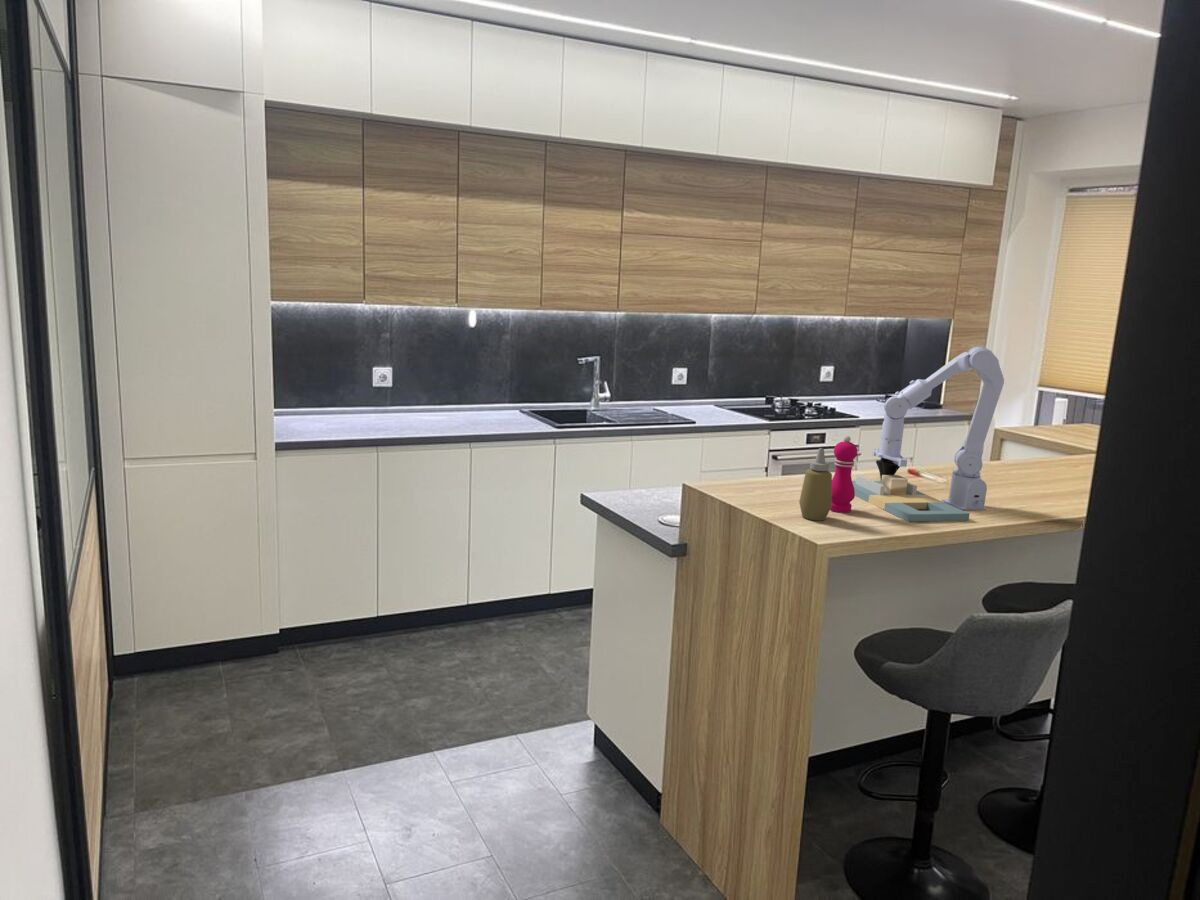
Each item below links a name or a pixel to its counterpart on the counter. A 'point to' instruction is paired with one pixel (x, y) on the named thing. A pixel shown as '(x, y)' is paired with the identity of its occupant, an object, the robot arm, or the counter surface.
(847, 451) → the pepper mill
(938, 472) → the counter surface
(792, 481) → the counter surface
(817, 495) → the squeeze bottle
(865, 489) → the board
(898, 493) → the block
